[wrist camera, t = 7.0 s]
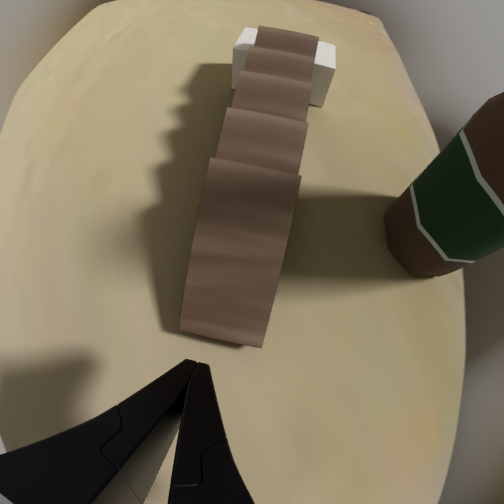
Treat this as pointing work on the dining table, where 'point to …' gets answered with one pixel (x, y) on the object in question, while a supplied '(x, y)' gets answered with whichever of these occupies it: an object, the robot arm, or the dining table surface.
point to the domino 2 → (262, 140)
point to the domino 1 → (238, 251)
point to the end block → (321, 70)
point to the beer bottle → (454, 201)
